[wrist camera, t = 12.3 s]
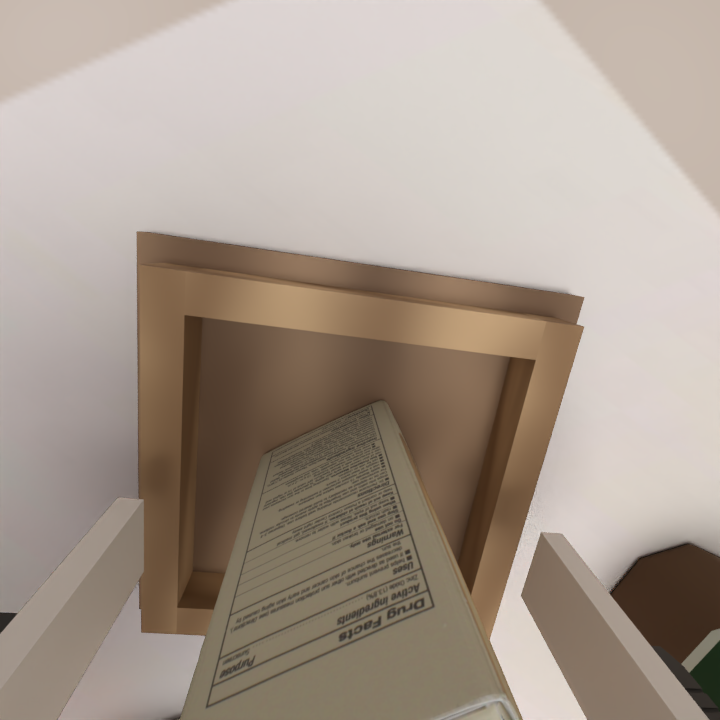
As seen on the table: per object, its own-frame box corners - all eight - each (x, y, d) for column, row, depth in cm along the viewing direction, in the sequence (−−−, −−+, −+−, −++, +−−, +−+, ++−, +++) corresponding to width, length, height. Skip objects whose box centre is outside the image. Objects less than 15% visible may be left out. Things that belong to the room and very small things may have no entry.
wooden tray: (148, 591, 20) (118, 648, 18) (148, 232, 16) (107, 229, 13) (479, 611, 22) (501, 665, 19) (570, 294, 17) (617, 303, 15)
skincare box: (303, 525, 19) (252, 988, 7) (259, 451, 18) (107, 866, 6) (427, 471, 18) (591, 867, 7) (390, 392, 17) (511, 707, 5)
